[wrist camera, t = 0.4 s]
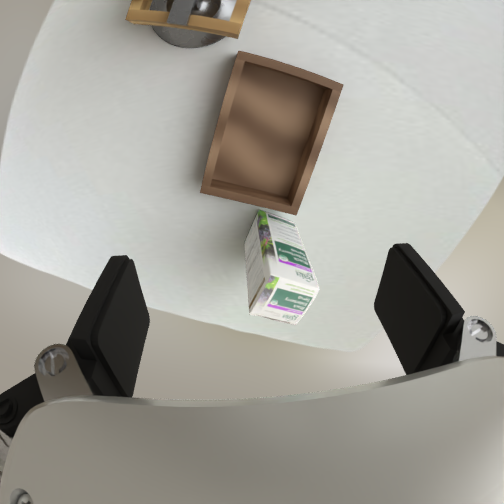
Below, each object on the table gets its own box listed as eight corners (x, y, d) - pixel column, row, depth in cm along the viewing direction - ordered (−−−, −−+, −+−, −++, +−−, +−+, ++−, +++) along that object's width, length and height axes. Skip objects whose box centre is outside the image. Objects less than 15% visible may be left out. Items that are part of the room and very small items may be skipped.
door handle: (165, -32, 21) (152, -53, 15) (254, -20, 23) (259, -40, 17) (139, 42, 26) (119, 34, 21) (228, 55, 29) (227, 48, 23)
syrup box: (296, 221, 41) (323, 288, 29) (279, 255, 44) (296, 328, 31) (258, 208, 40) (271, 273, 27) (242, 244, 42) (247, 317, 30)
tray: (237, 54, 29) (238, 50, 26) (333, 84, 31) (343, 84, 28) (202, 182, 37) (199, 192, 34) (291, 204, 39) (296, 215, 36)
